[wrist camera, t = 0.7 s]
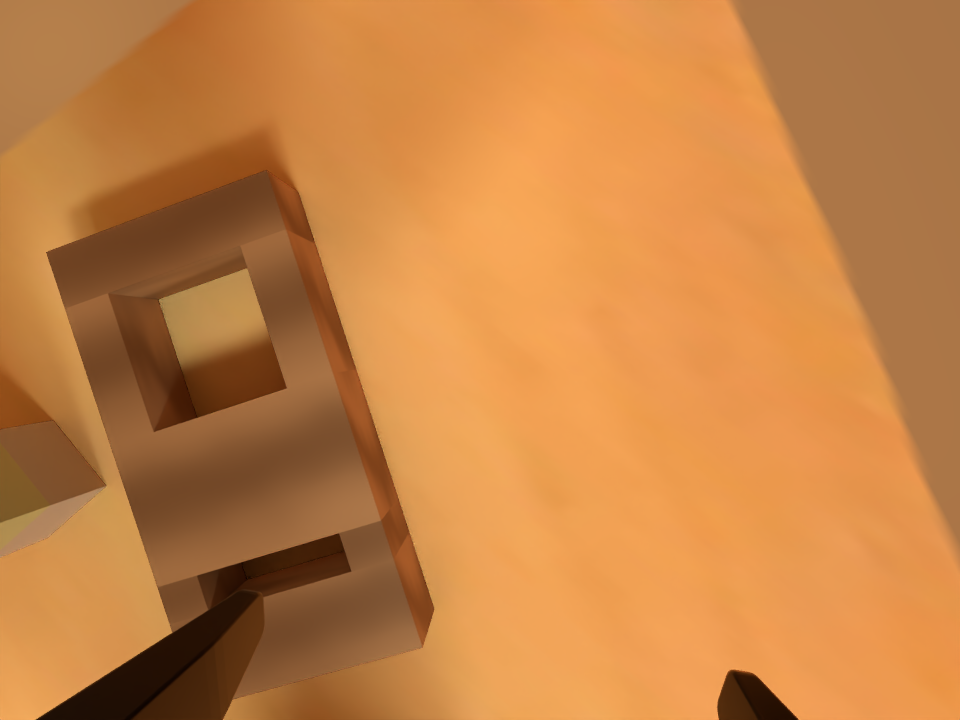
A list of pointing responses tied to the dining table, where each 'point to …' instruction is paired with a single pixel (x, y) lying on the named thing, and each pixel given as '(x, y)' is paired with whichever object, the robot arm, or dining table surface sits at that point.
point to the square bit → (40, 483)
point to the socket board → (247, 435)
